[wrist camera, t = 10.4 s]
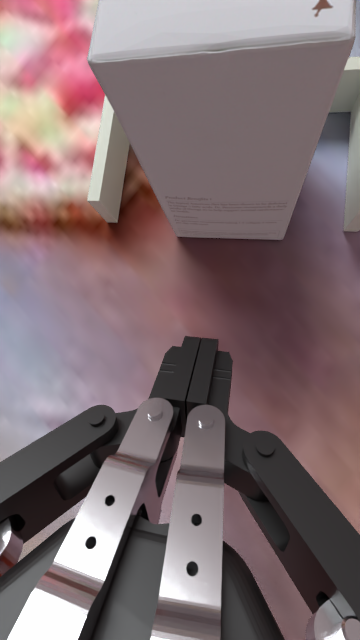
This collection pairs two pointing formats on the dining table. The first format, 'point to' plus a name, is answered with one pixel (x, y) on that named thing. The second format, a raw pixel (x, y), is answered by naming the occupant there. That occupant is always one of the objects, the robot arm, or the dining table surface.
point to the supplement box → (223, 102)
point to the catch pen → (113, 145)
